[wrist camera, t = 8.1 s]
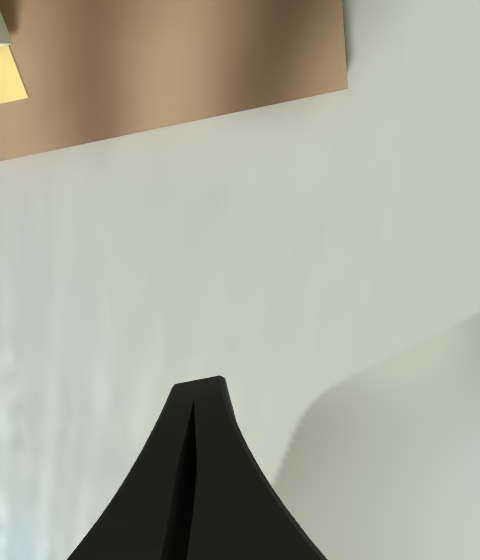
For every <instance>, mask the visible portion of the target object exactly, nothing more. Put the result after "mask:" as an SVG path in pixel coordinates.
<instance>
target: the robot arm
mask: <svg viewBox="0 0 480 560" xmlns="http://www.w3.org/2000/svg"><path fill="white" fill-rule="evenodd" d="M67 560H327V559H326V558H325V556H324V555H323V554H322V553H321V552H320V550H319V549H318V548H317V547H316V546H315V544H314V543H313V542H312V541H311V540H310V539H309V537H308V536H307V535H306V533H305V532H304V531H303V529H302V528H301V527H300V525H299V524H298V523H297V522H296V520H295V519H294V518H293V516H292V515H291V514H290V512H289V511H288V510H287V509H286V507H285V506H284V504H283V503H282V501H281V500H280V498H279V497H278V496H277V494H276V493H275V491H274V490H273V488H272V487H271V485H270V483H269V482H268V480H267V479H266V477H265V476H264V474H263V472H262V471H261V469H260V467H259V466H258V464H257V462H256V460H255V459H254V457H253V455H252V453H251V451H250V449H249V448H248V446H247V444H246V442H245V440H244V438H243V436H242V434H241V431H240V429H239V427H238V425H237V422H236V419H235V415H234V411H233V407H232V404H231V400H230V396H229V392H228V388H227V384H226V381H225V378H223V377H222V376H215V377H210V378H204V379H199V380H194V381H189V382H184V383H179V384H175V385H174V386H173V387H172V389H171V392H170V394H169V396H168V398H167V401H166V403H165V405H164V407H163V410H162V412H161V414H160V416H159V418H158V420H157V422H156V424H155V426H154V428H153V430H152V432H151V434H150V436H149V438H148V440H147V442H146V444H145V445H144V447H143V449H142V451H141V453H140V455H139V456H138V458H137V460H136V461H135V463H134V465H133V467H132V468H131V470H130V472H129V473H128V475H127V477H126V478H125V480H124V482H123V483H122V485H121V486H120V488H119V490H118V491H117V493H116V494H115V496H114V497H113V499H112V500H111V502H110V503H109V505H108V506H107V507H106V509H105V510H104V512H103V513H102V515H101V516H100V517H99V519H98V520H97V522H96V523H95V524H94V525H93V527H92V528H91V529H90V531H89V532H88V533H87V535H86V536H85V537H84V539H83V540H82V541H81V543H80V544H79V545H78V546H77V548H76V549H75V550H74V551H73V553H72V554H71V555H70V556H69V558H68V559H67Z"/></svg>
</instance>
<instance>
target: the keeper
mask: <svg viewBox="0 0 480 560" xmlns="http://www.w3.org/2000/svg"><path fill="white" fill-rule="evenodd" d="M10 44H13V43H12V40H11V37H10V35H9V32H8V30H7V27H6V24H5V22H4V19H3V16H2V14H1V11H0V47H1V46H5V45H10Z"/></svg>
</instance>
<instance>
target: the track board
mask: <svg viewBox="0 0 480 560" xmlns="http://www.w3.org/2000/svg"><path fill="white" fill-rule="evenodd" d="M0 11H1V14H2V16H3V19H4V22H5V24H6V27H7V30H8V32H9V35H10V37H11V40H12V43H13V44H10V45H5V46H1V47H0V161H4V160H8V159H13V158H18V157H23V156H28V155H32V154H37V153H42V152H47V151H52V150H56V149H61V148H66V147H71V146H76V145H80V144H85V143H90V142H95V141H99V140H104V139H109V138H114V137H119V136H123V135H128V134H133V133H138V132H143V131H147V130H152V129H157V128H162V127H167V126H171V125H176V124H181V123H186V122H191V121H195V120H200V119H205V118H210V117H215V116H219V115H224V114H229V113H234V112H239V111H243V110H248V109H253V108H258V107H263V106H267V105H272V104H277V103H282V102H287V101H291V100H296V99H301V98H306V97H311V96H315V95H320V94H325V93H330V92H335V91H339V90H344V89H348V82H347V67H346V52H345V37H344V22H343V7H342V0H0Z"/></svg>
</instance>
